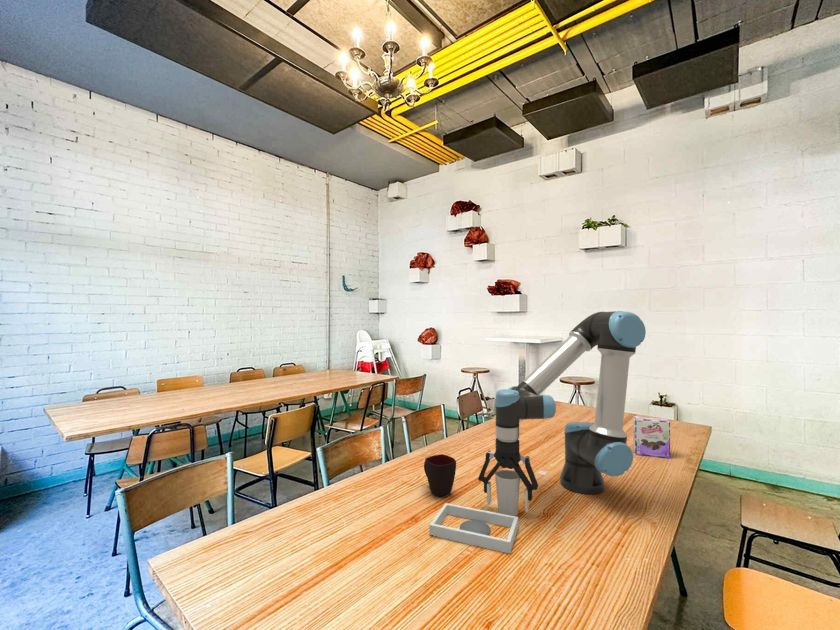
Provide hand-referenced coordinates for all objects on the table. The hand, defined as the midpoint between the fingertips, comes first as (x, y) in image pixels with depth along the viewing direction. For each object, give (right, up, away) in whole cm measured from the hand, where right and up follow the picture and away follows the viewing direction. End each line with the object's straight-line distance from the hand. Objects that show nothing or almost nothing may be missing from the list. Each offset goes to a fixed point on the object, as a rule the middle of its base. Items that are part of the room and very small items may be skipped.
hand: (507, 506), depth 124 cm
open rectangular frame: (-12, -2, -11) cm, 17 cm away
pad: (-12, -2, -11) cm, 16 cm away
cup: (0, -2, 0) cm, 2 cm away
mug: (-22, -2, +15) cm, 27 cm away
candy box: (+76, -2, +50) cm, 92 cm away
